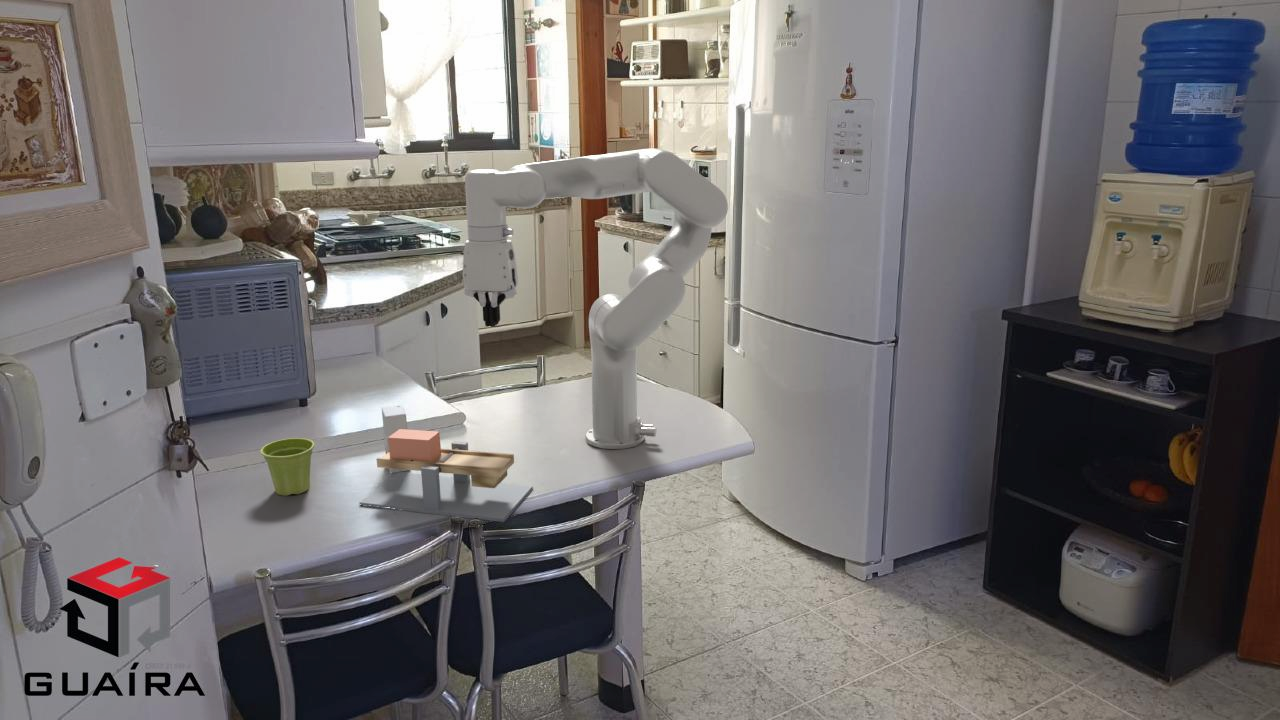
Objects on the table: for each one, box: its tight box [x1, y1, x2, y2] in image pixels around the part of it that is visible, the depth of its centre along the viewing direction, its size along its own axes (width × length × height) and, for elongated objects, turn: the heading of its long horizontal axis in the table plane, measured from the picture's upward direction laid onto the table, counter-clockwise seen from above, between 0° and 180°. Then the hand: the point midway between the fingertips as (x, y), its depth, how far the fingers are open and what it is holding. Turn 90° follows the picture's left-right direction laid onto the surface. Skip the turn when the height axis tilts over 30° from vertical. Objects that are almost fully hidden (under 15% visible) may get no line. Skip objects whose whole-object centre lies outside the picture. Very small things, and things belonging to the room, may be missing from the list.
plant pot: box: [260, 437, 315, 497], centre depth 176 cm, size 9×9×9 cm
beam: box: [376, 448, 515, 488], centre depth 173 cm, size 24×10×4 cm, turn 76°
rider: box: [388, 429, 442, 462], centre depth 172 cm, size 8×4×4 cm, turn 77°
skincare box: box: [381, 404, 410, 474], centre depth 187 cm, size 6×4×12 cm
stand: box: [359, 440, 534, 523], centre depth 173 cm, size 28×14×8 cm, turn 76°
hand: (492, 324), depth 189 cm, fingers closed
